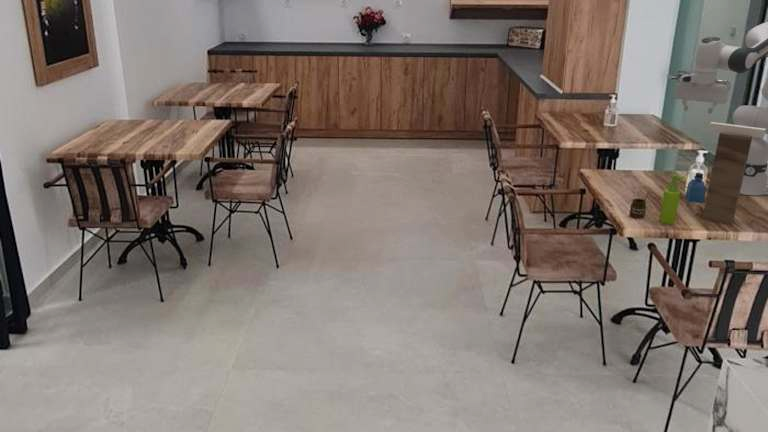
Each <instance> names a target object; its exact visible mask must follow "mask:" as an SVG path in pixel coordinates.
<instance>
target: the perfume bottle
mask: <svg viewBox="0 0 768 432" xmlns="http://www.w3.org/2000/svg"><path fill="white" fill-rule="evenodd" d="M705 185H706V184H705V183H704V173H703V172H702V173H701V172H696V173H695V175H694V177H693V179H691V180H690V181H689V182H688V183H687V187H686V188H687V189H686V192H685V198H686V199H687V201H688V202H693V203H705V202H704V201H705V199H706V198H705V197H706V193H707V188H706V186H705Z"/></svg>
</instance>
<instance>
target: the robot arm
mask: <svg viewBox="0 0 768 432" xmlns="http://www.w3.org/2000/svg"><path fill="white" fill-rule="evenodd" d="M745 45H746V47H745V46H744V47H743V46H736V45H735V46H734V45H727V44H725V43H724V42H722V39H721V38H720V37H716V36H709V37H704V38H702V39H701V40H700V41H699V44H698V47H697V50H696V55H695V65H694V67H693V71H692V72H690V73H687V74H683V75H682V76H680V78H679V81H680V82H678V83H677V84H676V87H675V89H674V94H673V97H674V99H676V100H681V103H682V105H683V111H685V112H688V111H689V107H690V106H689V105H687V103H686V102H687V101H694V102H705V103H711V104H712V107H711V108H708V110H707V114H713V111H714V109H715V108H716V107H717V105H718V104H721V105H723V104H726V103H727V102H728V100H729V99H728V98H729V91H730V90H731V86H732V84H731V82H729V81H728V80H725V79H724V80H722V79H717V75H718V70H723V71H724V70H725V71H730V72H734V73H738V74H744V73H746V72H748V71H749V70H750V69H751V68H752V67H753V66H755V64H756V63H757V62H758V61H760V60H762V59H763V58H765V57H766V58H768V21H765V22H763V23H762V22H761V24H758V25H756V26H755V27H752V28H751V29H750V30H749V31H748V32H747V33H746V37H745ZM764 82H765V83H764V84H763V86H762V88H761V95H762V97H763V98H764V99H765V100H766V101H767V102H768V77H767V78H766V79H765V81H764ZM732 114H733V115H732V121H733V125H741V126H748V127H756V128H764V129H766V132H765V135H768V105H767V106H766V107H763V106H758V105H752V104H751V105H748V104H747V105H739V106H738V107H737V108H736V109H735V110H734V112H733V113H732ZM767 169H768V142H767V141H766V140H765V138H761V137H753V136H752V140H751V145H750V149H749V154H748V159H747V164H746V168H745V172H744V177H743V181H742V186H741V190H740V195H747V196H768V175H767V174H766V172H767Z"/></svg>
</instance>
